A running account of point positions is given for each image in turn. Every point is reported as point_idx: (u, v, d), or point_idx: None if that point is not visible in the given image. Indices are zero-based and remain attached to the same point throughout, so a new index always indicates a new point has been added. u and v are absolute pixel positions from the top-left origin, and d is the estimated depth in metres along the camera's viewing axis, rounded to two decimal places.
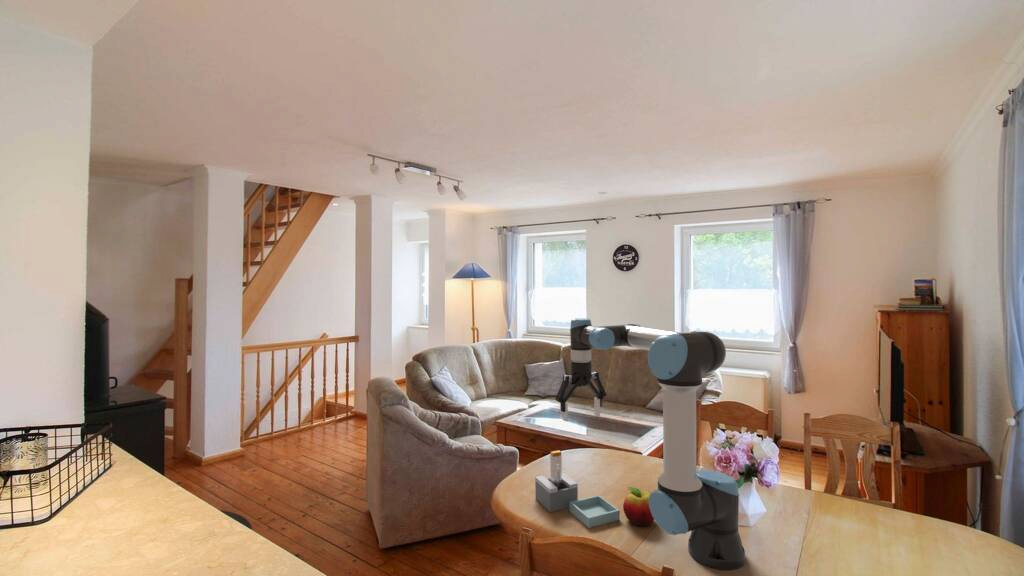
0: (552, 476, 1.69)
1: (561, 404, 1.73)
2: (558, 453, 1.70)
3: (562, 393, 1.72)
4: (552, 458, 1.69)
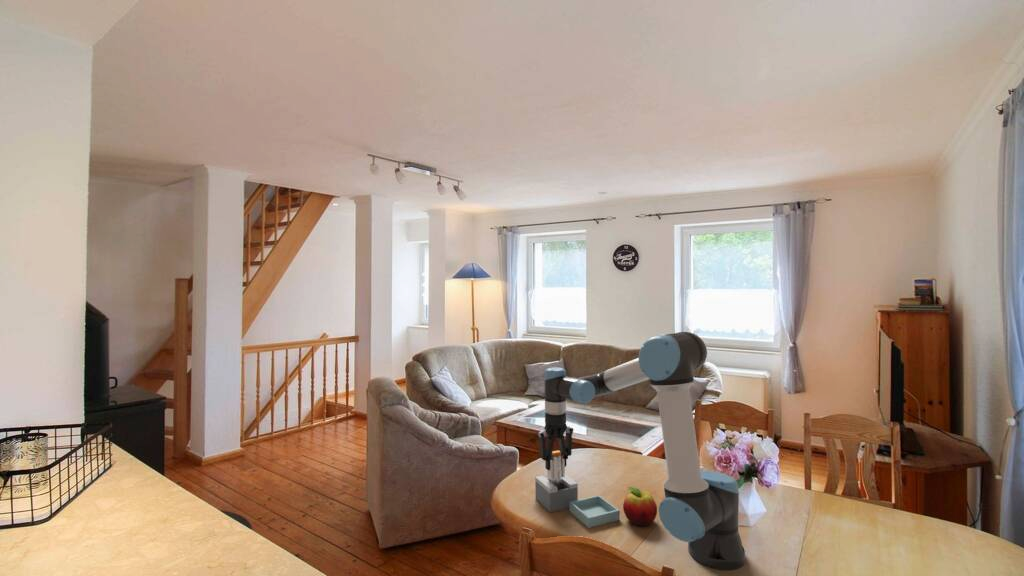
0: None
1: (546, 462, 1.69)
2: (558, 453, 1.70)
3: (544, 451, 1.67)
4: (552, 458, 1.69)
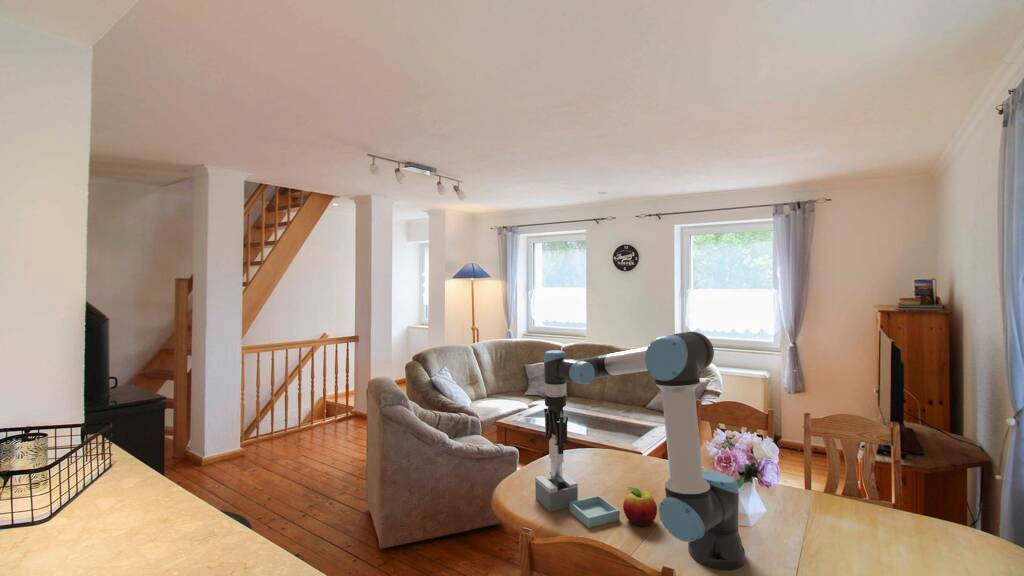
0: None
1: None
2: (554, 436, 1.69)
3: (545, 427, 1.75)
4: None
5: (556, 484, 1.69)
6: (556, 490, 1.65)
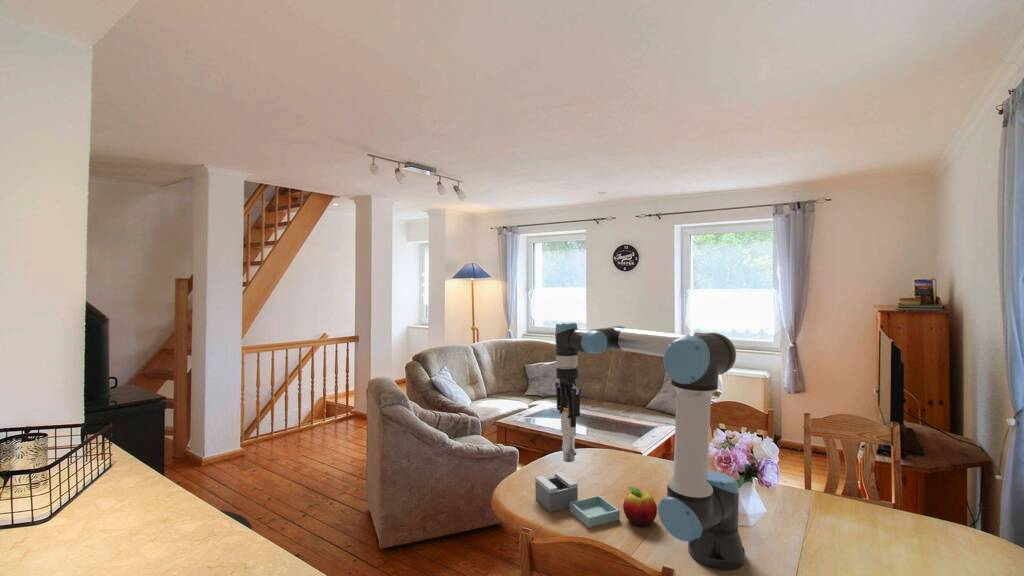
0: None
1: None
2: (566, 409, 1.66)
3: (557, 401, 1.71)
4: None
5: (568, 458, 1.65)
6: (556, 490, 1.65)
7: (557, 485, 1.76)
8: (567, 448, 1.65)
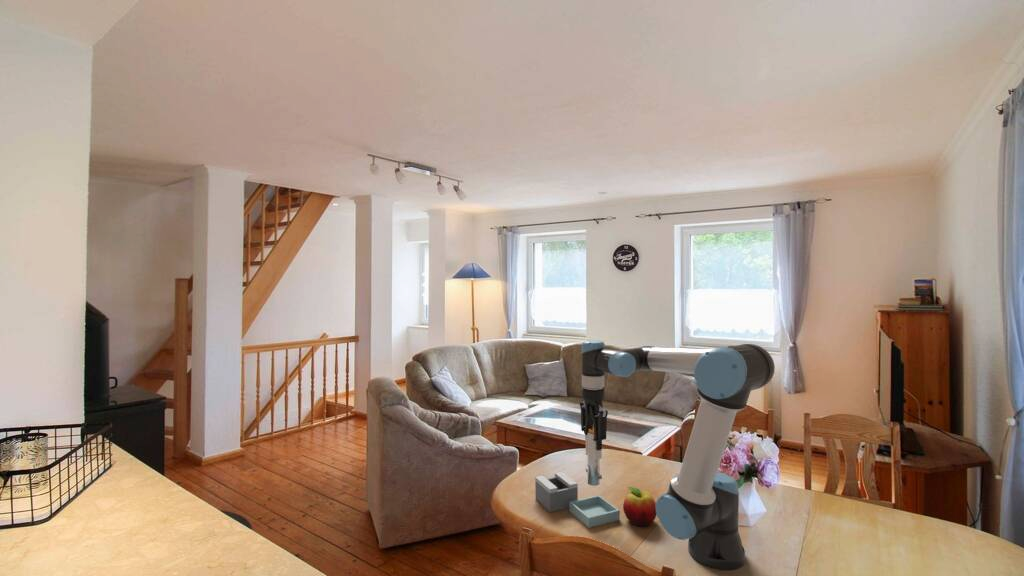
0: None
1: None
2: (592, 431, 1.60)
3: (581, 421, 1.65)
4: None
5: (593, 482, 1.59)
6: (556, 490, 1.65)
7: (557, 485, 1.76)
8: (592, 471, 1.59)
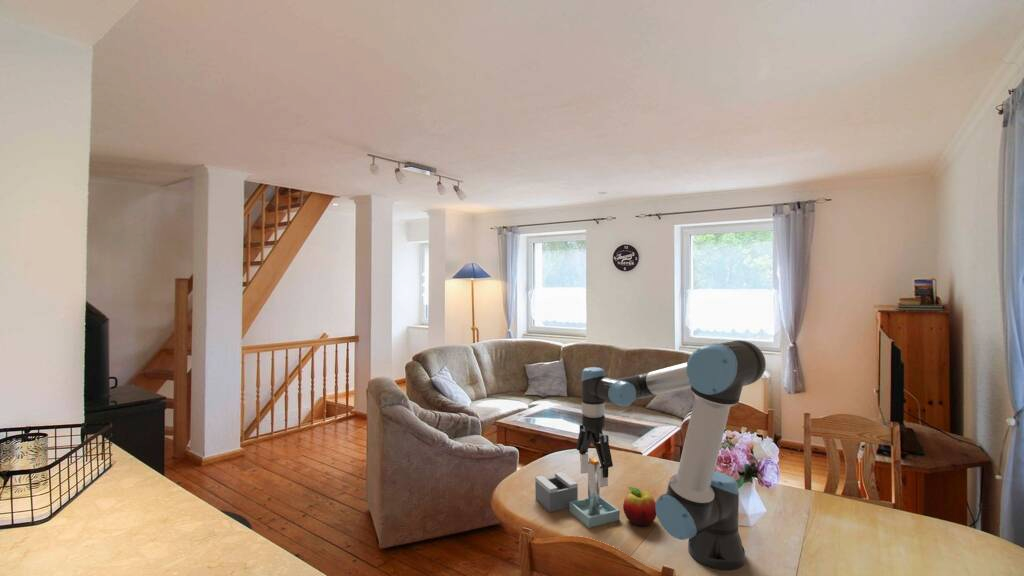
0: None
1: None
2: (592, 461, 1.60)
3: (578, 441, 1.68)
4: None
5: (594, 512, 1.60)
6: (556, 490, 1.65)
7: (557, 485, 1.76)
8: (592, 501, 1.60)
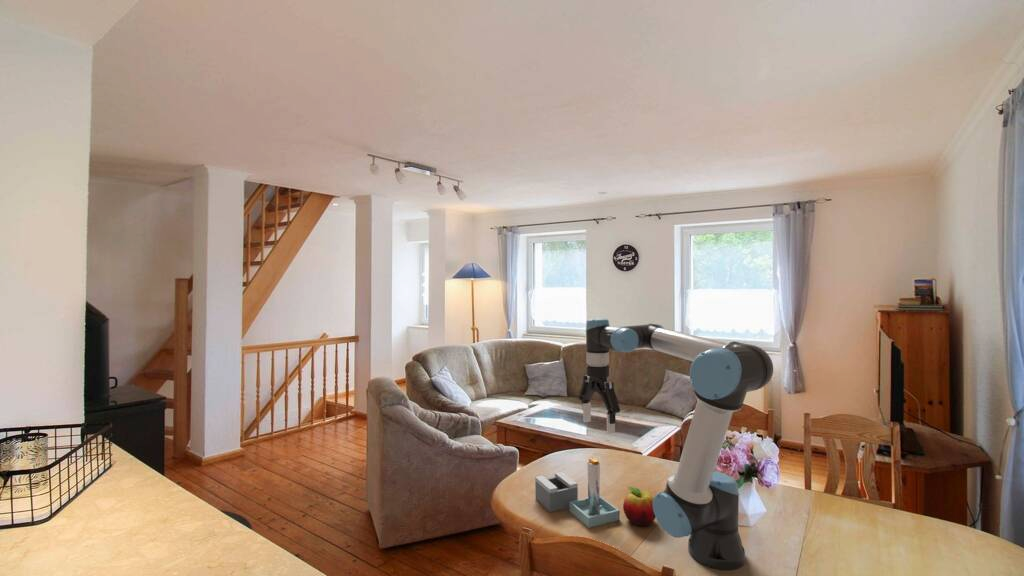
0: None
1: None
2: (592, 462, 1.60)
3: (581, 391, 1.69)
4: None
5: (594, 512, 1.60)
6: (556, 490, 1.65)
7: (557, 485, 1.76)
8: (592, 502, 1.59)
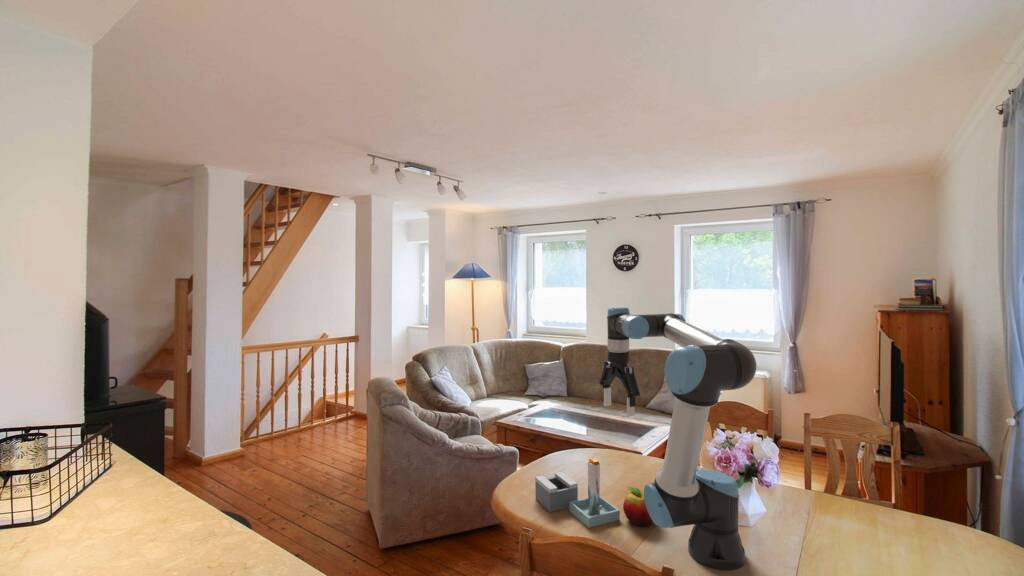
0: None
1: None
2: (592, 462, 1.60)
3: (602, 377, 1.77)
4: None
5: (594, 512, 1.60)
6: (556, 490, 1.65)
7: (557, 485, 1.76)
8: (593, 501, 1.59)
